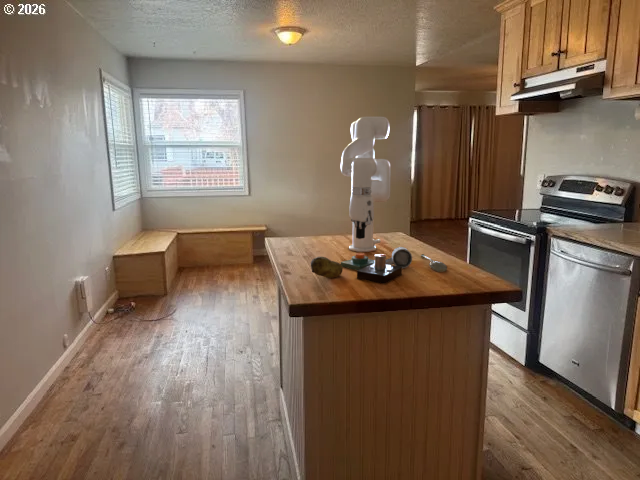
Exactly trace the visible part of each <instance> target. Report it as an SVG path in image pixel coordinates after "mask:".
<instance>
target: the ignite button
mask: <svg viewBox="0 0 640 480" xmlns="http://www.w3.org/2000/svg"><path fill="white" fill-rule="evenodd" d="M365 254H366V253H365V252H357V253H355V256H356V257H355V258H358V259H363V258H365V256H366V255H365Z"/></svg>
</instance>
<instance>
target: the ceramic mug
mask: <svg viewBox="0 0 640 480" xmlns="http://www.w3.org/2000/svg"><path fill="white" fill-rule="evenodd" d="M412 262H413V255H412V252H410V250H409V249H407V248H406V247H404V246H399V247H395V248H394V249H393V251H392V253H391V257H389V258H386V265H392V266H398V267H402V269H407V268H409V266H411V264H412Z"/></svg>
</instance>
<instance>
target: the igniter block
mask: <svg viewBox="0 0 640 480" xmlns="http://www.w3.org/2000/svg"><path fill="white" fill-rule="evenodd" d="M355 257H356V255H352V256H351V259H347V260H342V261H340V264H341V265H342V267H343V268H347V269H350V270H354V271H358V270H360V269H363V268H365V267H367V266H369V265H372V264H374V263H375V259H371V258H369V256H367V255H365V258H363V259H358V258H355Z"/></svg>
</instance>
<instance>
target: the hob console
mask: <svg viewBox="0 0 640 480" xmlns="http://www.w3.org/2000/svg"><path fill="white" fill-rule="evenodd" d="M374 264H375V263H374ZM374 264H372V265H369V266H367V267H365V268H363V269H360V270H356V279H357V280H361V281H367V282H372V283H377V284H381V285H387V284H388V283H390V282H392V281H393V280H396V279H397V278H399V277H400V276H402V275H403V268H402V267H398V266H395V265H393V264H392V265H386V269H385V270H376V269H374Z"/></svg>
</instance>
